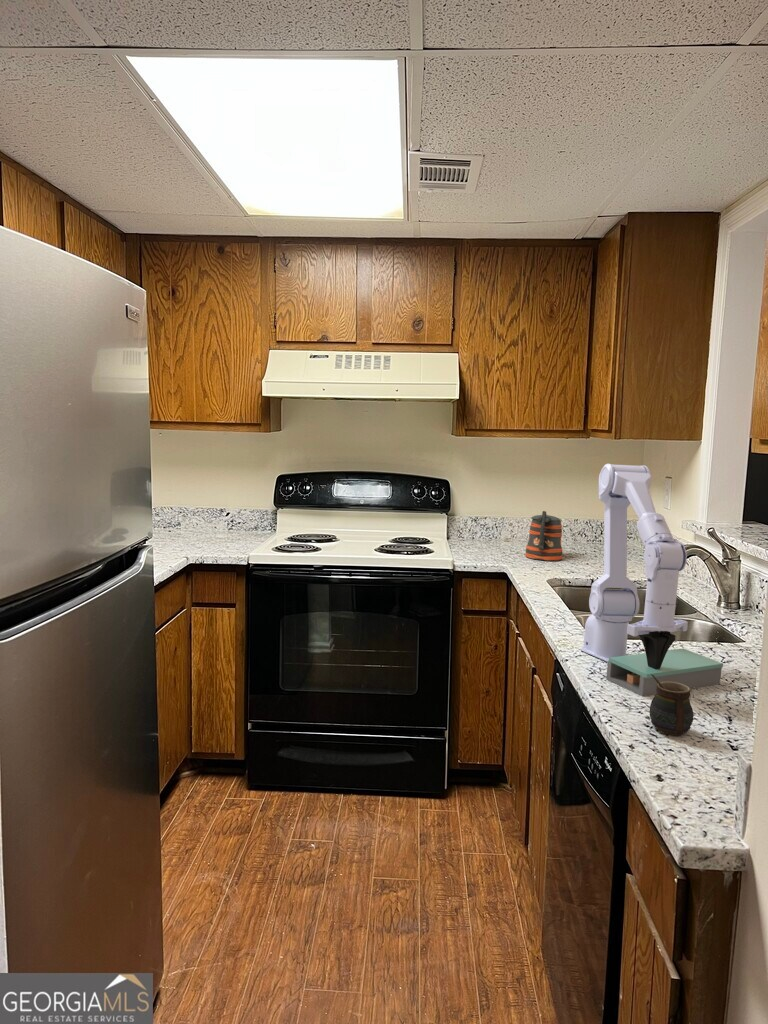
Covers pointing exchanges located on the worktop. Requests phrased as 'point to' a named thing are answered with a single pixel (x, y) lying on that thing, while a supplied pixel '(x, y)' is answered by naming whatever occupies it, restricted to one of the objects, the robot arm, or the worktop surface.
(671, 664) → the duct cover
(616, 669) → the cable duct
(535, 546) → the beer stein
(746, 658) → the worktop surface
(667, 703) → the mate gourd
